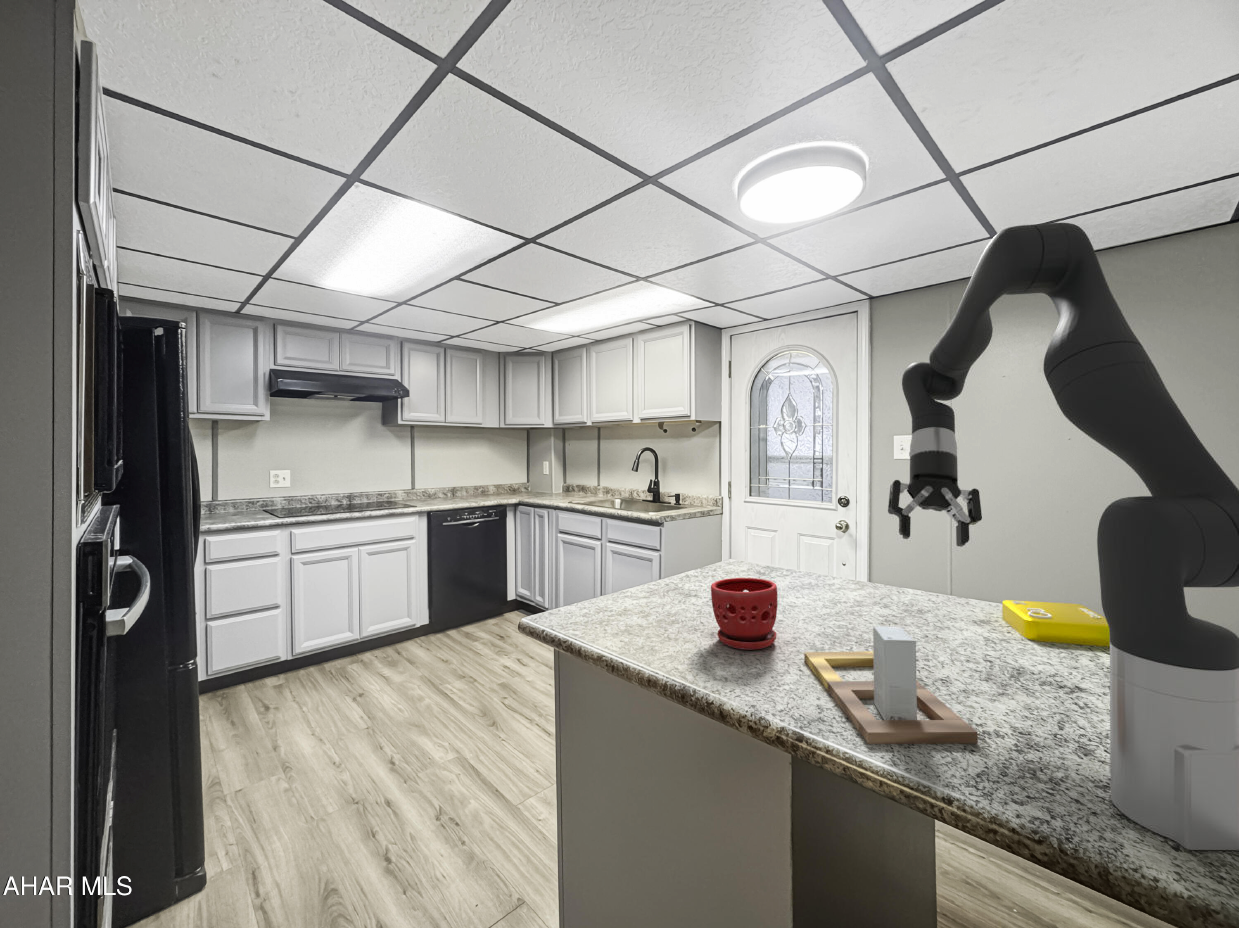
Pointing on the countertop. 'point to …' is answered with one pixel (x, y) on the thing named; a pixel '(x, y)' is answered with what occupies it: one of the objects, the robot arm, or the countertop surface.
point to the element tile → (1056, 622)
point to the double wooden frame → (874, 731)
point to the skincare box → (894, 673)
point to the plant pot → (745, 612)
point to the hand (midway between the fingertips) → (933, 541)
